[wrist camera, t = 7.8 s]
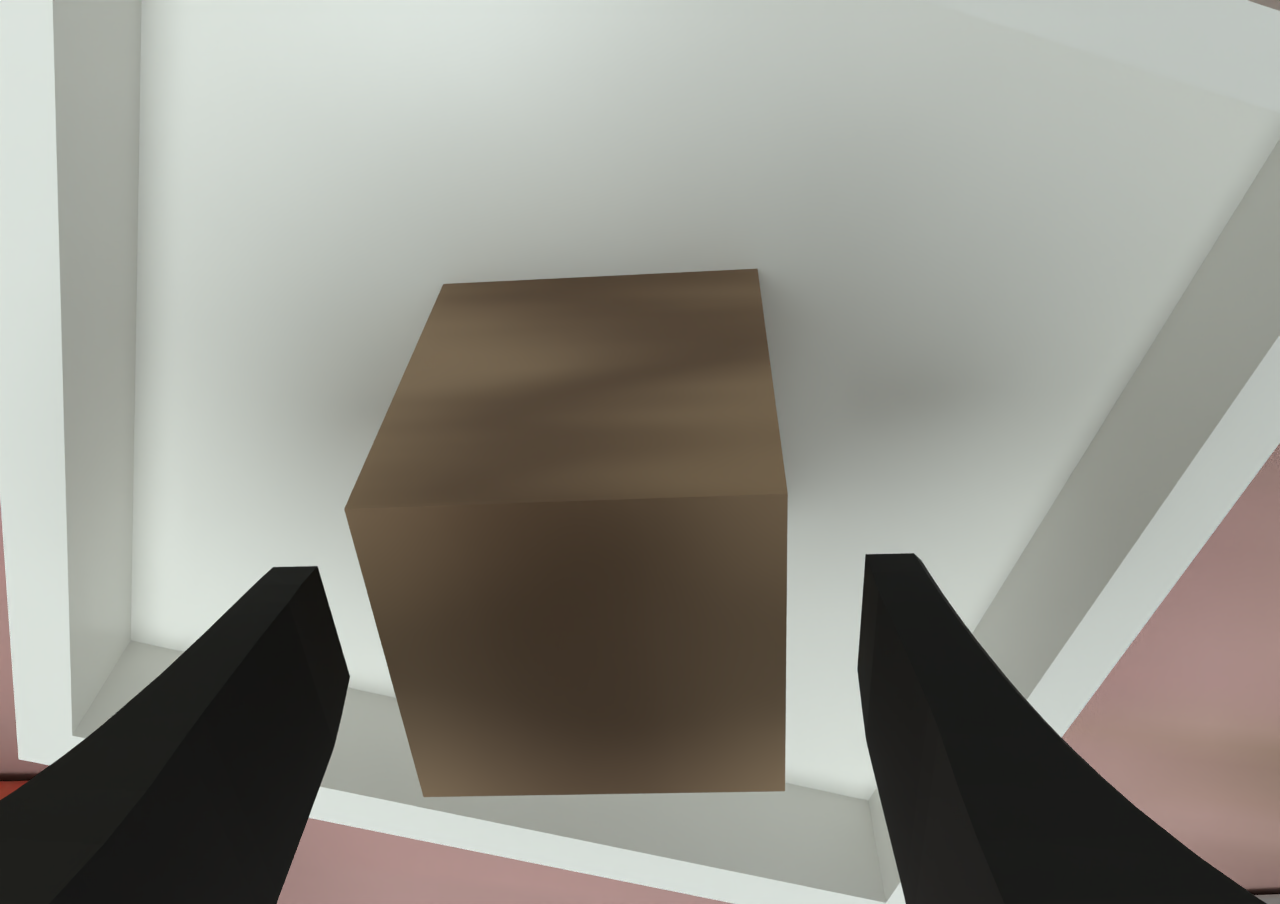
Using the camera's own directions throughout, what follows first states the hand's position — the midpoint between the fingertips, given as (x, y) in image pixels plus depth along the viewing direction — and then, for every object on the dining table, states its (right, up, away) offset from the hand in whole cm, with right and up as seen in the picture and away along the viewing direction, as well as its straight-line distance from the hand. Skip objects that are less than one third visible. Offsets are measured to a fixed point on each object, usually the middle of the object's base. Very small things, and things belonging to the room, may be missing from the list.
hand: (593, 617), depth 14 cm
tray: (0, +3, +5) cm, 6 cm away
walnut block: (0, +3, +4) cm, 5 cm away
